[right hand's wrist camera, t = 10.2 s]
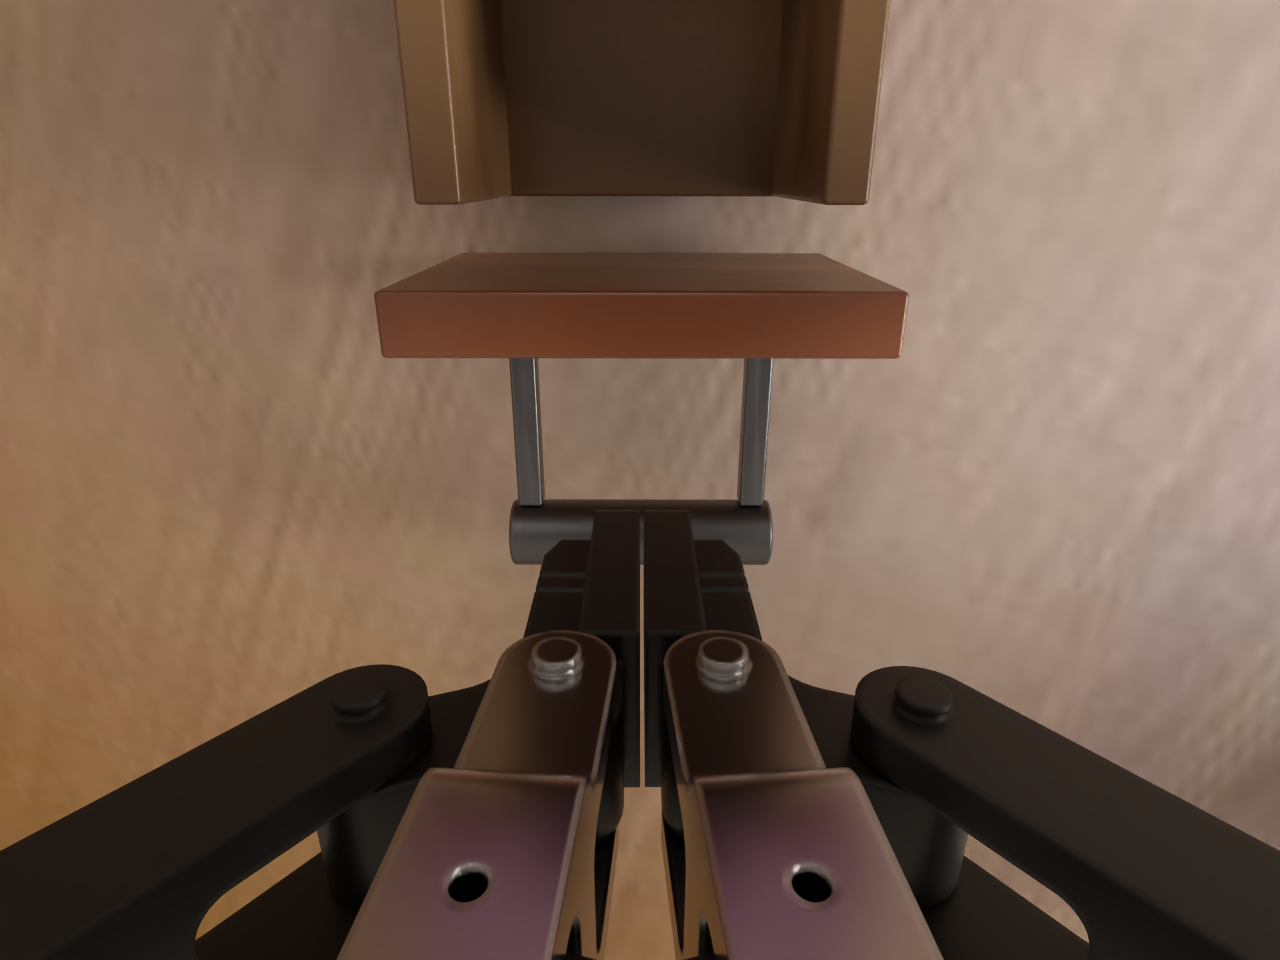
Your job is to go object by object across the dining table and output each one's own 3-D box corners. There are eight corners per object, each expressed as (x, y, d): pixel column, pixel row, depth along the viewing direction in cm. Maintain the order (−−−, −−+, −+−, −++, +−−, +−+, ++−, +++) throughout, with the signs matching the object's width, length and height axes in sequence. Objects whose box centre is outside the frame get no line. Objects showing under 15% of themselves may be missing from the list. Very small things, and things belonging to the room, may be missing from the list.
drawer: (798, 512, 22) (863, 649, 16) (482, 511, 22) (418, 649, 16) (909, -732, 13) (1162, -1588, 7) (377, -733, 13) (127, -1592, 7)
